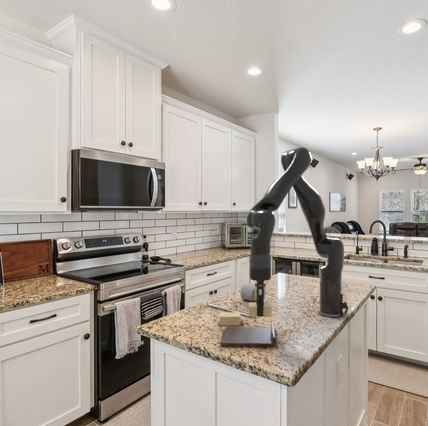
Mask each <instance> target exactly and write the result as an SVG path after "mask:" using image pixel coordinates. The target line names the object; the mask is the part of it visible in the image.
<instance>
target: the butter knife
mask: <svg viewBox="0 0 428 426" xmlns="http://www.w3.org/2000/svg"><path fill="white" fill-rule="evenodd" d="M206 305H207V306H210V307H213V308H217V309H221V310H224V311H228V312H239V313H241V315H244V316H247V317H249V313H246V312H242V311H238V310H233V309H229V308H226V307H222V306H219V305H216V304H213V303H207V304H206Z"/></svg>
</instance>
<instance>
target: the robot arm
mask: <svg viewBox="0 0 428 426" xmlns="http://www.w3.org/2000/svg"><path fill="white" fill-rule="evenodd" d="M280 163H281V168H282V169H283V171H284V172H283V173H282V174H281V175H280V176H279V177H278V178H276V180H274V181H273V182H272V184H271V185H270V186H269V187H268V188H267V190H266V192H265V193H264V195H263V197H262V198H261V199H260V200H258V202H256V204H254V205H253V206H252V207H251V209H250V210H249V211H248V213H247V215H246V224H247V226H248V227H249V228H250V229H253V230H258V234H257V235H254V236H252V237H251V239H250V256H249V279H250V280H251V281H256V283H254V286H255V298H256V299H257V301H256V302H255V303H256V305H257V316H258V317H257V318H263V317H262V316H263V306H264V303H265V299H266V290H267V284H266V283H265V281H267V282H268V281H270V280H271V279H272V256H271V241H272V238H273V234H274V230H275V226H276V217H275V214H274V212H276V211H278V210H279V208H280V207H281V206H282V204H283V202H284V200H285V198H286V197H287V195H288V193H289V192H290V191H291V189H293V191H294V193H295V195H296V199H297V200H298V203H299V206H300V208H301V211H302V213H303V215H304V218H305V220H306V223H307V226H308V229H309V231H310V235H311V236H312V241H313V244H314V247H315V251H316V253H317V255H318V256H319V257H320V258H322V259H325V260H327V264H326V265H324V266H321V267H320V269H319V300H318V301H319V302H318V303H319V314H320V315H322V316H323V317H324V316H325V317H329V318H330V317H331V318H337V317H342V316H344V315H346V314H347V313H348V311H349V305H348V302H347V301H346V300H345V299H344V293H343V292H342V276H343V275H342V273H343V270H344V259H345V258H344V257H345V246H344V243H343V241H342V240H341V239H339V238H333V237H328V235H327V232H326V229H325V226H324V224H325V218H326V207H325V204H324V202H323V199H322V197H321V195H320V194H319V192H318V191H317V190H316V189H315V188H314V187H312V186H311V185H310V184H309V183H308V182H307V180H306V179H305V178H304V176H303V174H304V173H306V171H307V170H308V169H309V167H310V165H311V163H312V155H311V152H310V151H309V150H308V148H307V147H304V146H301V147H300V146H299V147H295V148H291V149H288V150H286V151H284V152H282V153H281V155H280Z"/></svg>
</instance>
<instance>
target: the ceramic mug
mask: <svg viewBox="0 0 428 426" xmlns="http://www.w3.org/2000/svg"><path fill="white" fill-rule="evenodd" d="M240 297H241V298H242V300H246V301H249V302H253V303H256V302H257V299H256V298H255V285H251V284H249V283H245V284H243V285H242V286H241V288H240Z"/></svg>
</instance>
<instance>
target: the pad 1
mask: <svg viewBox="0 0 428 426" xmlns="http://www.w3.org/2000/svg"><path fill="white" fill-rule="evenodd" d="M239 312H240V311H238V312H232V311H228V312H227V311H226V312H225V311H223V312H221V313H220V315H219V326H237V327H241V322H242V314H241V313H239Z"/></svg>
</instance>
